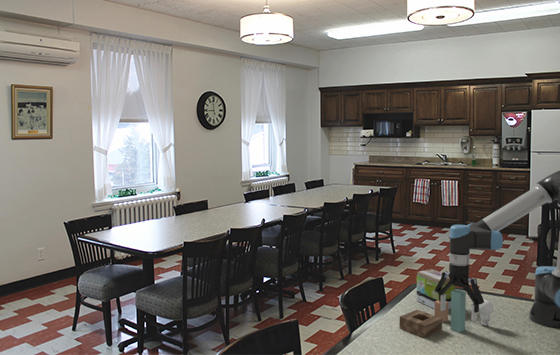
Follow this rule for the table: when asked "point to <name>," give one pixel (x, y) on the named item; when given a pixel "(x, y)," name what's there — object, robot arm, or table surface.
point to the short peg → (439, 313)
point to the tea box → (431, 288)
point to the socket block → (420, 323)
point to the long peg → (458, 310)
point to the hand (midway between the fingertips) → (458, 314)
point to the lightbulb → (485, 311)
